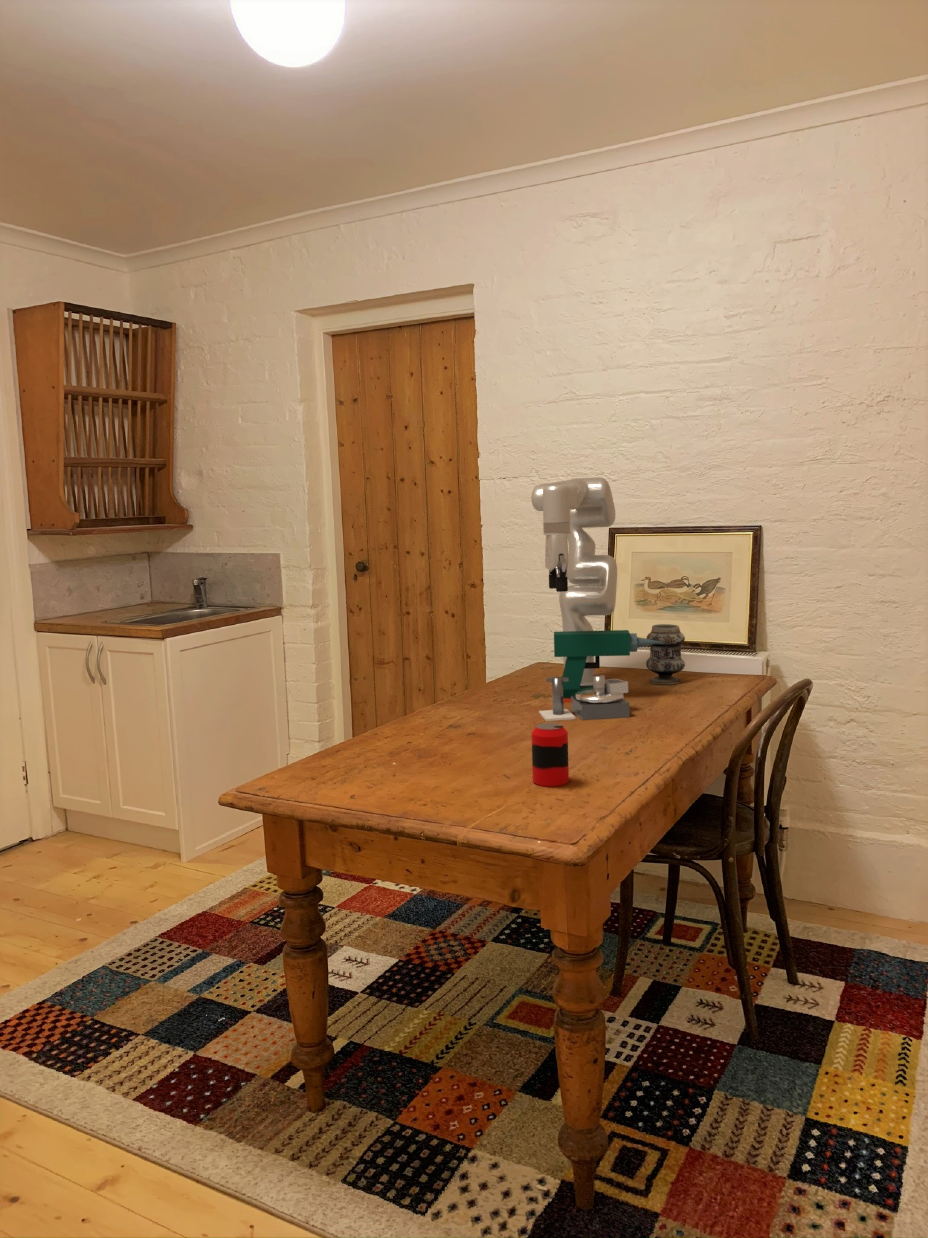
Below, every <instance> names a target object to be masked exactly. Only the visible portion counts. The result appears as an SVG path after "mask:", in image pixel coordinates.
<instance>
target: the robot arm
mask: <svg viewBox="0 0 928 1238" xmlns="http://www.w3.org/2000/svg"><path fill="white" fill-rule="evenodd" d="M530 499H531V504H532V506H533V509H534V510H536V511H537V512H542V516H543V517H542V521H543V522H542V525H543V530H542V531H543V535H544V536H545V546H544V548H545V550H544V552H545V554H544V566H545V567H544V568H545V569H547V570H548V588H549V589H551V590H553V589H555V591H556V592H558V593H559V596H558V602H559V608H560V613H561V618H562V619H561V622H562V631H594V628H593V626H592V624H591V623H590V621H589V620H588V619H587V617H589V616H609V615H611V614H613V612H614V611H615V608H616V600H617V599H616V598H617V585H618V564H617V560H616V559H615V558H614V557H613V556H611V555H608V554H596V542H595V540H594V539H593V538H592V537H591V535H590V534H589V533H588V532H587V531H585V528H588V529H589V528H594V529H595V528H608V527H611V526H613V524H614V523H615V521H616V506H615V502H614V498H613V494H612V489H611V486H610V484H609V482H608V481H607V480H606V478H604V477H582V478H580V477H579V478H578V477H577V478H572V479H567V480H560V481H555V482H548V483H542V484H538V485H536V486H534V488H533V489H532V492H531V496H530ZM569 583H570V584H572V585H569ZM562 658H563V668H564V667H565V663H566V658H567V657H562ZM594 660H595V656H587V659H586V662H595V661H594ZM594 675H595V669H584V672H583V676H582V680H581V685H580V686H586V685H593V676H594Z"/></svg>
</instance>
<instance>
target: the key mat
mask: <svg viewBox="0 0 928 1238" xmlns="http://www.w3.org/2000/svg"><path fill="white" fill-rule="evenodd" d="M538 714H539V715H540V716H541V717H542V718H543V719H544V720H545V722H551V721H569V720H576V716H575V715H574V714H573V713H572V712H571V711H570V710H569V709H567V708H564V714H563V715H554V714H553V709H550V710H549V709H548V710H547V709H546V710H545V709H543V710H538Z"/></svg>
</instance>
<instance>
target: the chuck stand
mask: <svg viewBox="0 0 928 1238" xmlns="http://www.w3.org/2000/svg"><path fill="white" fill-rule="evenodd" d="M570 708H571V709H570V710H571V711H572V712H573V713H574V714H575V715H576V716H577V717H578V718H579V719H580V720H582V721H589V720H604V719H606V720H607V719H622V718H623V719H624V718H630V702H629V701H628V700H626V698H625V697H624V698H623V699H622V700H619V701H615V702H606V703H592V702H583V701H579V700H577V699H576V695H575V696H571V703H570Z"/></svg>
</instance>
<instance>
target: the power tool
mask: <svg viewBox="0 0 928 1238" xmlns="http://www.w3.org/2000/svg"><path fill="white" fill-rule="evenodd" d="M657 643H661V642H660V641H655V640H650V639H647V638H643V637H638V633H636V632H635V633H633V632H632V633H631V632H630V631H629V630H628V629H621V630H620V629H618V630H617V629H615V630H593V631H563V630H562V631H553V652H554V653H553V654H554V656H553V657H554V658H563V657H567V658H566V663H565V667H564V666H563V670H562V671H563V672H562V676H561V677H568V682H563V701H564V704H566V703H567V704H568V703H570V704H571V696H575V695H576V693H577V692H580V691H585V690H593V685H586V686H580V685H581V680H582V676H583V672H584V669H594V670H595V669H601V666H600V663H601V662H600V661H601V660H600V657H617V656H618V657H619V656H620V657H622V656H623V657H624V656H627V657H629V656H631V653H635V652H636V653H637V652H638V649H639V648H642V647H646V646H647V647H648V646H650V645H652V644H657ZM587 656H594V660H595V661H594V662H586V659H587Z"/></svg>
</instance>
